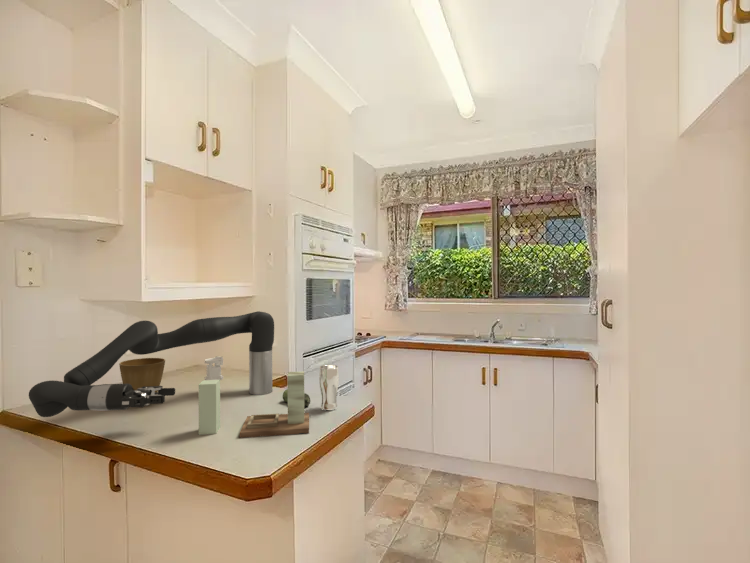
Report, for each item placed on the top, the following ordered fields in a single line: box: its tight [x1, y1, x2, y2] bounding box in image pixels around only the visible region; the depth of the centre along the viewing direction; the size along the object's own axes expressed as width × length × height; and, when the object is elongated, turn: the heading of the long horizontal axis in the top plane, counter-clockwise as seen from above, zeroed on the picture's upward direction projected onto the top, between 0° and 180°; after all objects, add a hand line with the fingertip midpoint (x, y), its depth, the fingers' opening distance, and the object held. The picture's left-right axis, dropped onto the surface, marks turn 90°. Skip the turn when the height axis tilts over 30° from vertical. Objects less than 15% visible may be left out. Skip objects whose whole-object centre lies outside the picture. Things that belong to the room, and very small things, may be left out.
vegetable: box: [282, 388, 311, 408], centre depth 143 cm, size 14×5×5 cm, turn 49°
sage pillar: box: [198, 379, 221, 436], centre depth 118 cm, size 5×5×15 cm
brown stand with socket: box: [239, 371, 310, 439], centre depth 121 cm, size 14×20×16 cm
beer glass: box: [318, 364, 340, 411], centre depth 138 cm, size 7×7×15 cm
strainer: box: [204, 355, 224, 381], centre depth 159 cm, size 7×7×15 cm
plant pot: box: [118, 357, 166, 396], centre depth 145 cm, size 15×15×16 cm
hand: (169, 395), depth 116 cm, fingers open, 8 cm apart
